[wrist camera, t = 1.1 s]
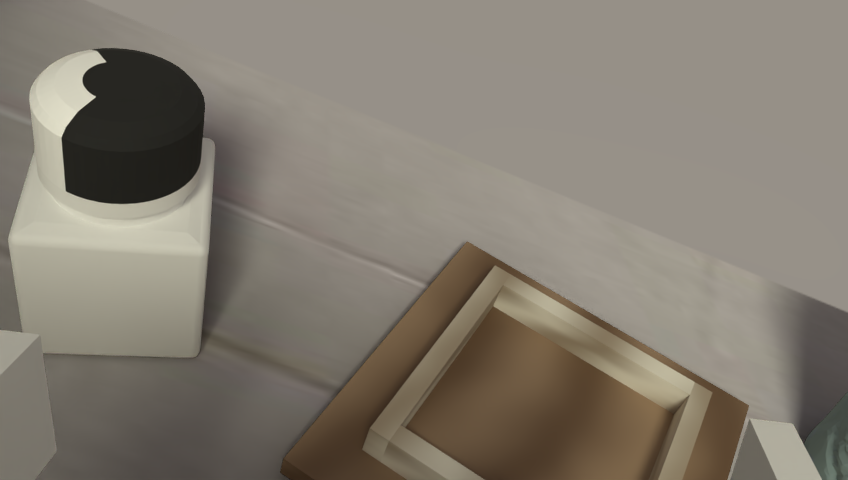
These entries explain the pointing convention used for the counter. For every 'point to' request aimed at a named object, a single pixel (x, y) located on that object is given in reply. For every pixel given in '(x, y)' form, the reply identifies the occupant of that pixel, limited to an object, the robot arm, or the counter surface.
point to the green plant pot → (831, 443)
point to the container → (115, 208)
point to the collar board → (516, 395)
